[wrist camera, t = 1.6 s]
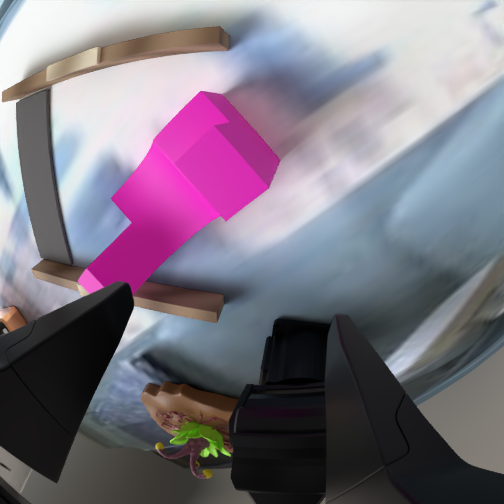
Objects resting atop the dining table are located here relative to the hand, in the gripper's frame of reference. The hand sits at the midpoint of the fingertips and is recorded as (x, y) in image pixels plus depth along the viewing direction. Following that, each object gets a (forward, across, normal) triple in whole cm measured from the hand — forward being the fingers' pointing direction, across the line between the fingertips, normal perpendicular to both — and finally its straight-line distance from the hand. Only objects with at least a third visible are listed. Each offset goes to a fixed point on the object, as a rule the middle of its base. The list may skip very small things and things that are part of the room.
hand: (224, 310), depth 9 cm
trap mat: (+13, +24, 0) cm, 28 cm away
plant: (+14, +7, +36) cm, 39 cm away
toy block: (+14, +7, +1) cm, 15 cm away
